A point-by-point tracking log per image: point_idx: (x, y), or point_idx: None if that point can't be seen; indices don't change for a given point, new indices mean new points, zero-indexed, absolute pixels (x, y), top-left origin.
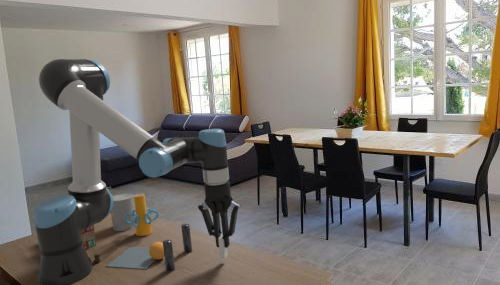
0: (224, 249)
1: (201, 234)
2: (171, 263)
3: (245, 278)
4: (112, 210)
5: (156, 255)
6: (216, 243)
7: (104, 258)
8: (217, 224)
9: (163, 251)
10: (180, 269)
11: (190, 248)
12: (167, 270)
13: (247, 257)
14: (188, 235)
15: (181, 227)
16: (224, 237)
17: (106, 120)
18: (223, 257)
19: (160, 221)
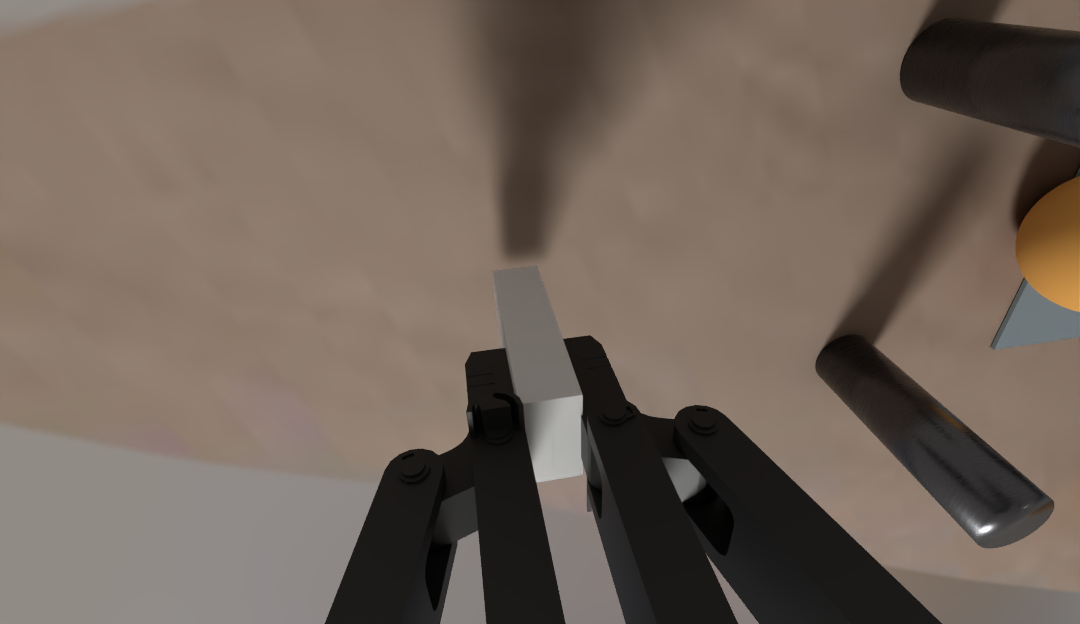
0: (503, 329)
1: None
2: (981, 46)
3: (154, 46)
4: None
5: None
6: (602, 359)
7: None
8: (637, 574)
9: (1074, 229)
10: (851, 87)
11: (838, 369)
12: (970, 20)
13: (367, 386)
14: (919, 442)
15: (1040, 490)
16: (485, 408)
17: None
18: (506, 275)
19: (1046, 576)
